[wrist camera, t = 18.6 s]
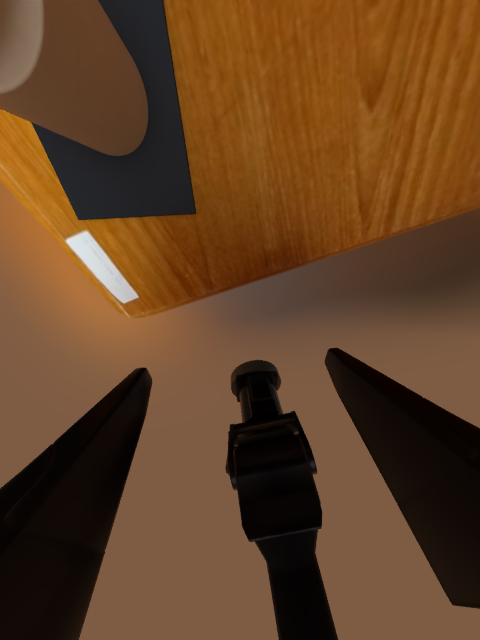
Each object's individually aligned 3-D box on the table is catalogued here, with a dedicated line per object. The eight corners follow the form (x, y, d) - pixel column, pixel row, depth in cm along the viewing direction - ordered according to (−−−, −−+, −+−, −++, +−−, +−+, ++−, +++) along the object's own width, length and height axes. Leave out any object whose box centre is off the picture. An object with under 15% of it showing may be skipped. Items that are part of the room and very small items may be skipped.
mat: (196, 213, 16) (195, 213, 16) (81, 219, 15) (78, 219, 15) (141, -136, 8) (138, -150, 8) (-95, -151, 8) (-109, -167, 7)
